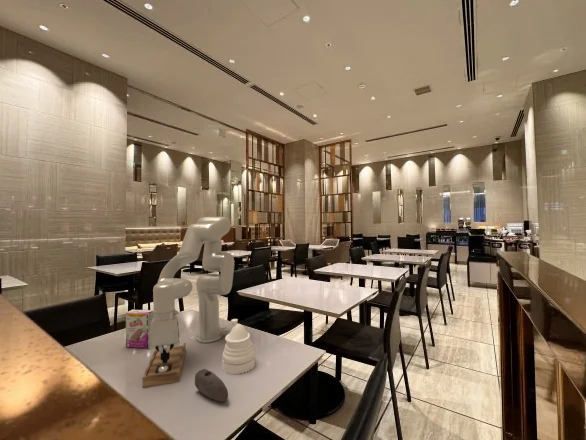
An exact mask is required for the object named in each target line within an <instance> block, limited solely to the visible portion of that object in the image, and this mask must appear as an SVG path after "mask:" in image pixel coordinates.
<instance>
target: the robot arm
mask: <svg viewBox="0 0 586 440" xmlns="http://www.w3.org/2000/svg"><path fill="white" fill-rule="evenodd" d="M231 224H232V223H231V220H230V218H228V217H226V216H203V217H200V218H198V219H197V222H196V223H192V224H190V225H189V226H188V227H187V228H186V231H185V235H184V237H183V240H182V242H181V246H180V248H179V251H178V253H177V254H176V255H175V256H174V257H172V258H171V259H170V260H169V261H168V262H167V263H166V264H165V265H164V267H163V268H162V270H161V272H160V274H159V278H158V279H157V283H156V284H155V285H154V286H153V289H152V292H153V294H152V300H153V301H152V302H153V311H154V318H153V319H152V323H151V330H150V348H149V349H150V350H155V349H156V350H158V351H159V353H161V360H162V364H163V363H167V361H168V359H169V358H170V350H171V349H172V348H173V347H175V346H180V343H181V341H180V325H179V319H178V316H177V315H179V314H180V312H179V310H176V308H175V307H176V306H175V301H176V299H181V298H182V299H183V298H185V297H187V296H189V295H190V294H191V292H192V291H193V283H192V281H191V280H189V279H186V278H176V277H175V274H176V273H177V272H178V271H179V270H180V269H182V268H183V267H185V266H187V265H189V264H191V263H193V262H195V261H197V260H198V259H199V257H200V253H201V250H202V247H204V248H203V253H202V268H203V270H205V271H208V272H220V274H219V273H218V274H217V273H203V274H200V275H199V276H198V277H197V279H196V283H195V286H196V291H197V298H198V322H199V323H198V324H199V325H198V328H199V329H198V331H199V332H198V334H196V336H195V340H196V341H197V342H198V343H203V344H205V343H213V342H217V341H218V340H220V339H221V338H222V337H223V334H224V333H227V334H228V333H230V332H229V331H230V330H229V328H227V327H226V326H224V327H221V326H220V325H221V324H220V301H219V298H218V296H217V295H219V296H220V295H223V296H224V295H228V294H229V293H231V290H232V287H233V280H234V272H235V270H234V269H235V259H234V256H233V254H231V252H223V251H222V246H223V244H222V243H223V242H222V239H221V238H222V237H224V236H225V235H227V234H228V233H229V232H230V229H231V226H232V225H231ZM203 244H204V246H203ZM165 346H166V347H165ZM164 348H166V350H165V349H164Z"/></svg>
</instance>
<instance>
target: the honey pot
mask: <svg viewBox="0 0 586 440" xmlns="http://www.w3.org/2000/svg"><path fill="white" fill-rule="evenodd" d="M238 320H239V319H238V318H233V319H231V320H230V321H231V324H232V325H233V327H232V328H231V330H230V332H228V333H227V335H225V337H224V340H225V342H226V343H225V345H224V348H223V352H222V356H221V357H222V360H221V361H222V370H223V371H224V372H225V373H227V372H228V373H227V374H230V373H231V375H240V374H239V373H242V374H245V373H248V372H249V370H250V369H251V370H252V369H254V367H255V365H256V360H255V359H256V357H255V356H256V353H255V352H256V351H255V348H254V346H253V342H252V340H251V334H250V333H249V331H247V329H246V328H245V327H244V326H243V325H242V324H240V323H238ZM251 370H250V371H251ZM247 371H248V372H247ZM244 372H245V373H244Z"/></svg>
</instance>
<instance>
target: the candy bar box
mask: <svg viewBox="0 0 586 440" xmlns="http://www.w3.org/2000/svg"><path fill="white" fill-rule="evenodd" d="M124 314H125V317H124V318H125V348H129V349H131V348H132V349H150V330H151V323H152V319H153V318H154V309H153V310H151V309H131V310H129V311H126V312H125V313H124Z"/></svg>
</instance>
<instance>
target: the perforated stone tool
mask: <svg viewBox="0 0 586 440" xmlns="http://www.w3.org/2000/svg"><path fill="white" fill-rule="evenodd" d="M194 386H195V388H196V389H197V390H198V391H199V392H200V393H201V394H202V395H204V396H205V397H208V398H210V399H212V400H214V401H216V402H222V403H224V402H226V401H227V400H228V398H229V391H228V388H227V387H226V385H225V383H224V381H223V380H222V379H221V378H219V376H218V375H216V374H215V373H214V372H212V371H210V370H208V369H206V368H203V369H200V370H198V371H197V372H196V373H195V375H194Z"/></svg>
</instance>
